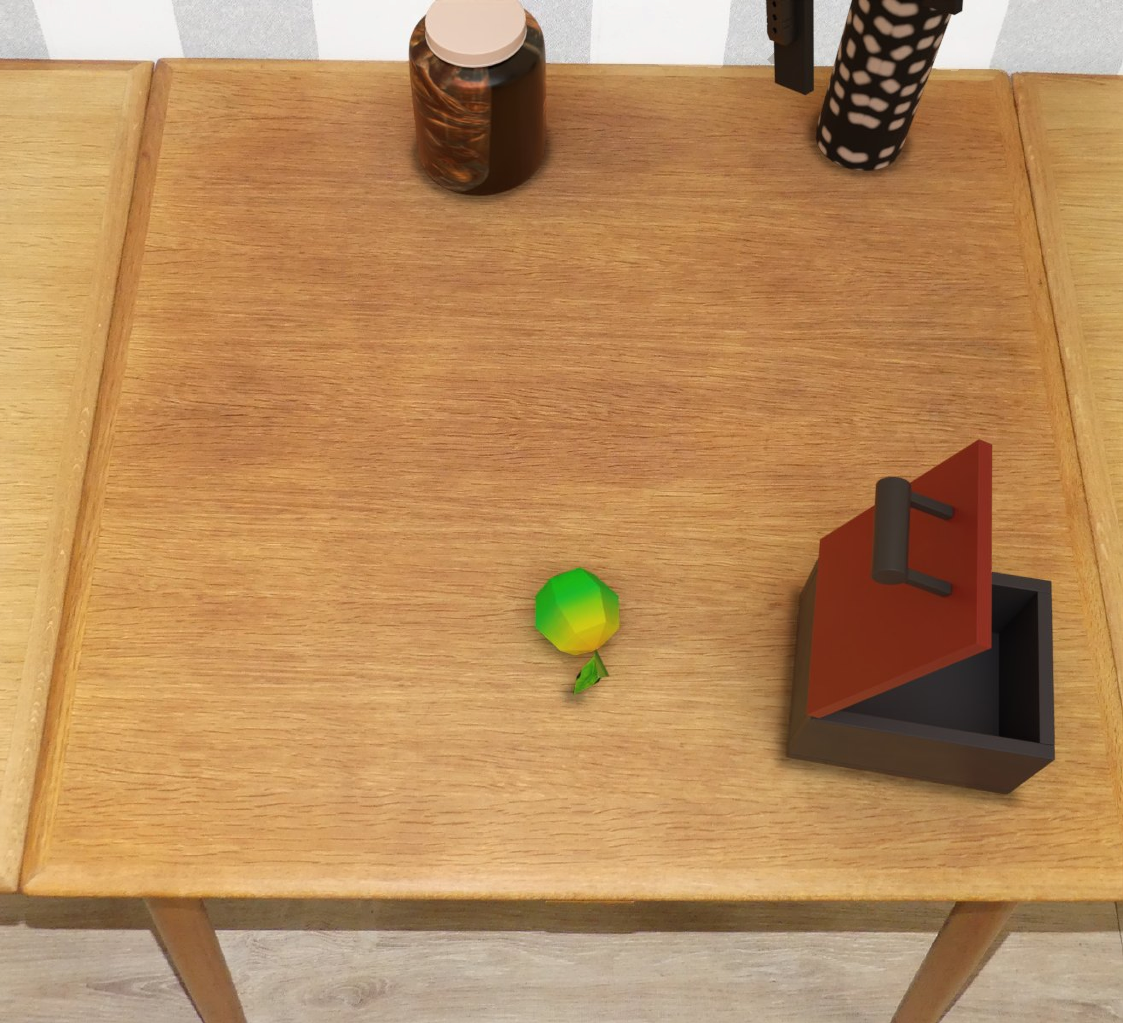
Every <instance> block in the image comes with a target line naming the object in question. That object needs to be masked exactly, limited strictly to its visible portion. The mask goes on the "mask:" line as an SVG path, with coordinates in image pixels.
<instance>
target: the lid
mask: <svg viewBox="0 0 1123 1023" xmlns="http://www.w3.org/2000/svg"><path fill="white" fill-rule="evenodd" d="M874 490H875V492H874V504H873V505H872V506H870V507H869V508H867V509H866V510H864V511H862V512H861V513H859V514H858V515H856V516H854V517H853V518H852V519H850V520H848V521H847V522H845V523H843V524H842V525H840V526H839V527H837V528H836V529H834V530H833V531H831V532H829V533H828V534H826V535H824V536H823V537H821V538H820V539H819V545H818V546H819V547H818V550H819V551H818V557H819V558H818V557H817V559H818V571H817V584H816V597H815V610H814V623H813V636H812V649H811V661H810V674H809V687H808V700H807V713H806V714H807V715H809V716H813V717H816V718H821V717H824V716H826V715H829V714H831V713H834V712H836V711H838V710H841V709H843V708H846V707H848V706H851V705H853V704H856V703H858V702H860V701H863V700H865V699H868V698H870V697H873V696H875V695H878V694H880V693H882V692H885V691H887V690H890V689H892V688H895V687H897V686H900V685H902V684H905V683H907V682H909V681H912V680H914V679H917V678H919V677H922V676H924V675H927V674H929V673H931V672H934V671H936V670H939V669H941V668H944V667H946V666H949V665H951V664H953V663H956V662H958V661H961V660H963V659H966V658H968V657H971V656H973V655H975V654H978V653H980V652H983V651H985V650H988V649H990V648H991V616H992V572H993V557H992V556H993V444H992V443H990V442H987V441H986V440H983V439H980V438H978V439H977V440H975V441H974V442H972V443H970V444H969V445H967V446H966V447H964V448H962V449H961V450H959V451H958V452H956V453H955V454H953V455H952V456H950V457H948V458H947V459H945V460H943V461H942V462H940V463H938V464H937V465H935V466H933V467H932V468H931V469H929V470H928V471H926V472H925V473H923V474H921V475H920V476H918V477H917V478H914V479H913V480H911V481H909V480H908V479H905V478H903V477H899V476H886V477H881V478H880V479H879V480H877V482H876V483H875V489H874Z"/></svg>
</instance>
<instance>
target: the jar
mask: <svg viewBox="0 0 1123 1023" xmlns="http://www.w3.org/2000/svg"><path fill="white" fill-rule="evenodd" d="M546 61H547V55H546V43H545V37H544V33H543V30H542V27H541V26H540V24H539V22H538V20H537V19H536V18H535V17H534V15H532V13H530V11H528V10H527V9H525V8H524V6H523V4H522V3H521V2H520V1H519V0H435V1H433V2H432V4H430V5H429V8H428V10H427V12H426V14H424V15H423V16H422V17H421V19H420V20H418V22H417V23H416V24H415V26H414V28H413V30H412V33H411V35H410V38H409V43H408V68H409V70H408V71H409V79H410V80H409V81H410V90H411V91H410V92H411V99H412V108H413V109H412V111H413V118H414V127H415V134H416V143H417V144H416V145H417V150H418V157H419V161H420V163H421V166H422V168H423V170H424V171H425V173H426V174H427V175H428V176H429V178H430V179H431V180H433V181H434V182H435V183H436V184H438V185H440V186H441V187H443V188H445V189H447V190H450V191H451V192H455V193H459V194H463V195H470V196H486V195H487V196H488V195H494V194H495V195H496V194H499V193H503V192H506V191H508V190H511V189H514V188H516V187H517V186H519V185H521V184H523V183H524V182H526V181H527V180H528V179H529V178H530V177H532V176H533V175H534V173H536V171H537V170H538V169H539V167H540V165H541V163H542V162H543V159H544V155H545V150H546V135H547V134H546V133H547V132H546V130H547V128H546V127H547V126H546V125H547V62H546Z"/></svg>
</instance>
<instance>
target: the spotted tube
mask: <svg viewBox="0 0 1123 1023" xmlns="http://www.w3.org/2000/svg"><path fill="white" fill-rule="evenodd" d="M951 17H952V14H949V13H946V12H942V11H939V10H936V9H933V8H929V7H926V6H923V0H851V2H850V5H849V9H848V13H847V17H846V19H845V23H844V26H843V31H842V33H841V34H842V35H841V37H840V42H839V45H838V49H837V53H836V55H835V59H834V62H833V66H832V70H831V73H830V77H829V81H828V84H827V88H826V91H825V95H824V98H823V103H822V105H821V110H820V113H819V117H818V121H817V124H816V128H815V140H816V143H817V146H818V148H819V149H820V151H821V152H822V153H823V155H824V156H826V157H827V158H828V159H829V160H831V161H832V162H834V163H835V164H836V165H838V166H840V167H843V168H846V169H850V170H854V171H863V172H867V171H875V170H876V171H877V170H879V169H883V168H885V167H888V166H889V165H891V164H892V163H894V162H895V161H896V160H897V158H898V157H899V156H900V155H901V153H902V150H903V147H904V145H905V143H906V140H907V138H908V137H907V136H908V134H909V131H910V129H911V126H912V123H913V120H914V118H915V115H916V112H917V110H918V107H919V105H920V101H921V98H922V96H923V94H924V91H925V88H926V85H927V83H928V81H929V77H930V75H931V72H932V68H933V66H934V63H935V62H936V61H935V60H936V58H937V56H938V53H939V50H940V47H941V45H942V42H943V39H944V36H945V34H946V31H947V28H948V26H949V23H950V20H951Z"/></svg>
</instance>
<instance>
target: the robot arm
mask: <svg viewBox="0 0 1123 1023" xmlns="http://www.w3.org/2000/svg"><path fill="white" fill-rule="evenodd" d="M814 4H815V0H765V13H766V15H765V16H766V35H767V37H768V39H769V41H771V42H773V63H774V64H773V67H774V68H773V69H774V71H773V72H774V84H776V85H778V86H781V87H783V88H786V89H789V90H791V91H794V92H795V93H798V94H800V95H804V96H807V95H809V94H810V93H813V92H814V91H815V36H814V35H815V20H814V19H815V5H814ZM923 6H926V7H929V8H933V9H936V10H939V11H942V12H946V13H949V14H952V15H953V16H956V15H958V14H959V13H962V12H963V8H964V0H923ZM952 15H951V16H952Z"/></svg>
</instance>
